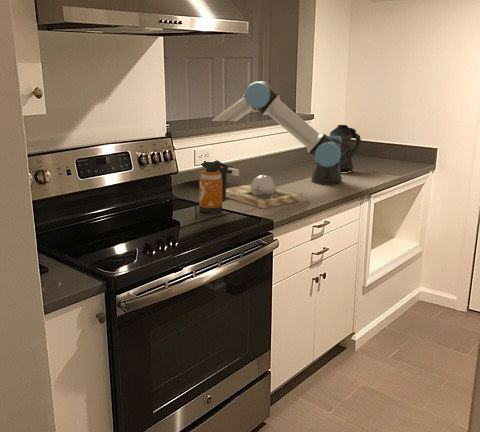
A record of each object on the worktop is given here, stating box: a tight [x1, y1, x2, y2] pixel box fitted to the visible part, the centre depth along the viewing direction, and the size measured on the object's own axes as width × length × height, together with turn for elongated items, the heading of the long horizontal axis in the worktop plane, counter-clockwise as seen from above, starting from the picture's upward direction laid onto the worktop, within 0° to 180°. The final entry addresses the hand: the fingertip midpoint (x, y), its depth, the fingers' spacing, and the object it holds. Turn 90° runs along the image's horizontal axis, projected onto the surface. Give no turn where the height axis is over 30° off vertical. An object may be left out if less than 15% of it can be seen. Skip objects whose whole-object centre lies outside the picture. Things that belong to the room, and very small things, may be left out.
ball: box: [250, 174, 277, 200], centre depth 233 cm, size 11×11×11 cm
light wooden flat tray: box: [226, 183, 300, 209], centre depth 238 cm, size 21×28×2 cm
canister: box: [198, 159, 228, 213], centre depth 213 cm, size 9×11×20 cm
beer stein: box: [329, 124, 362, 172], centre depth 300 cm, size 16×19×25 cm
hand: (237, 172), depth 246 cm, fingers closed
